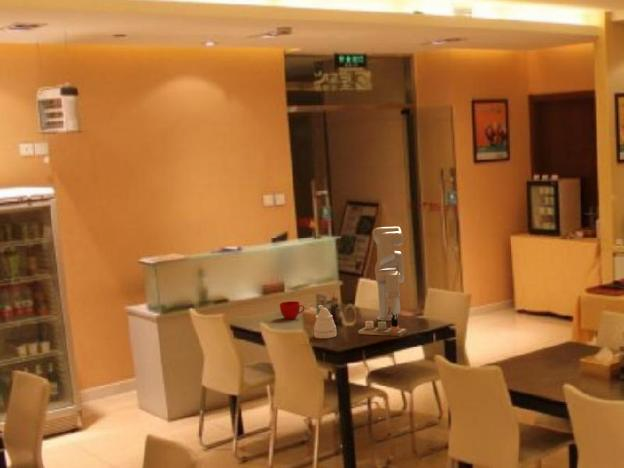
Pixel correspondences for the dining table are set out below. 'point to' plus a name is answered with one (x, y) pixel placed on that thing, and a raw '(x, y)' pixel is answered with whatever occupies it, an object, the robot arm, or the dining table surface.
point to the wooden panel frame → (381, 331)
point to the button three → (395, 328)
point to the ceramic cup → (290, 309)
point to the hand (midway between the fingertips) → (394, 326)
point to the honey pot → (324, 324)
